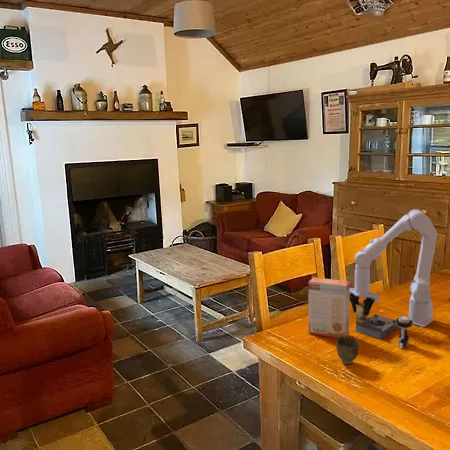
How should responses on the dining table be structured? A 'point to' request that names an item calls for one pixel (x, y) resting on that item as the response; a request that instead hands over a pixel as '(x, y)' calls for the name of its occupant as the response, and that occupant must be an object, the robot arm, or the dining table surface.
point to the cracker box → (329, 307)
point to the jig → (376, 326)
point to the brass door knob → (360, 311)
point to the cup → (347, 349)
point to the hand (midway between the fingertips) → (361, 313)
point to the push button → (403, 330)
